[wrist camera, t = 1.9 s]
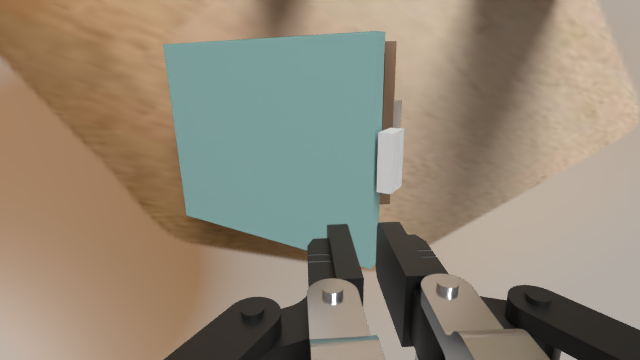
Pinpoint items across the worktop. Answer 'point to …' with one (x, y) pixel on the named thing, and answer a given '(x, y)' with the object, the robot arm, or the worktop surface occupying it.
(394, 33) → the worktop surface
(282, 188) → the lid
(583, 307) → the robot arm
